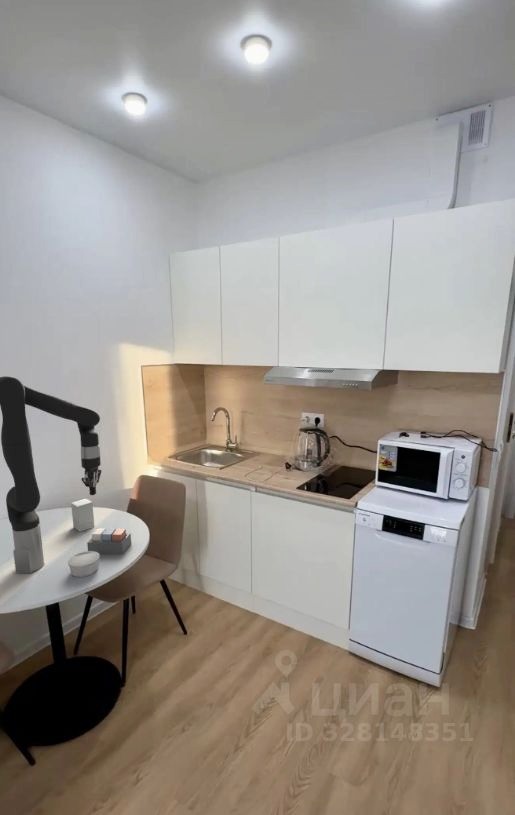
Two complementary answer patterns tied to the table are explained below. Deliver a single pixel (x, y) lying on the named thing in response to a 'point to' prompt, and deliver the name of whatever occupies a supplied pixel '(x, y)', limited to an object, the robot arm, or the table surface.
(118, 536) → the pink block
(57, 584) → the table surface
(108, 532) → the slate blue key
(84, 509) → the supplement box
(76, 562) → the ramekin
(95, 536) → the ivory key
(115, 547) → the dark grey tray
